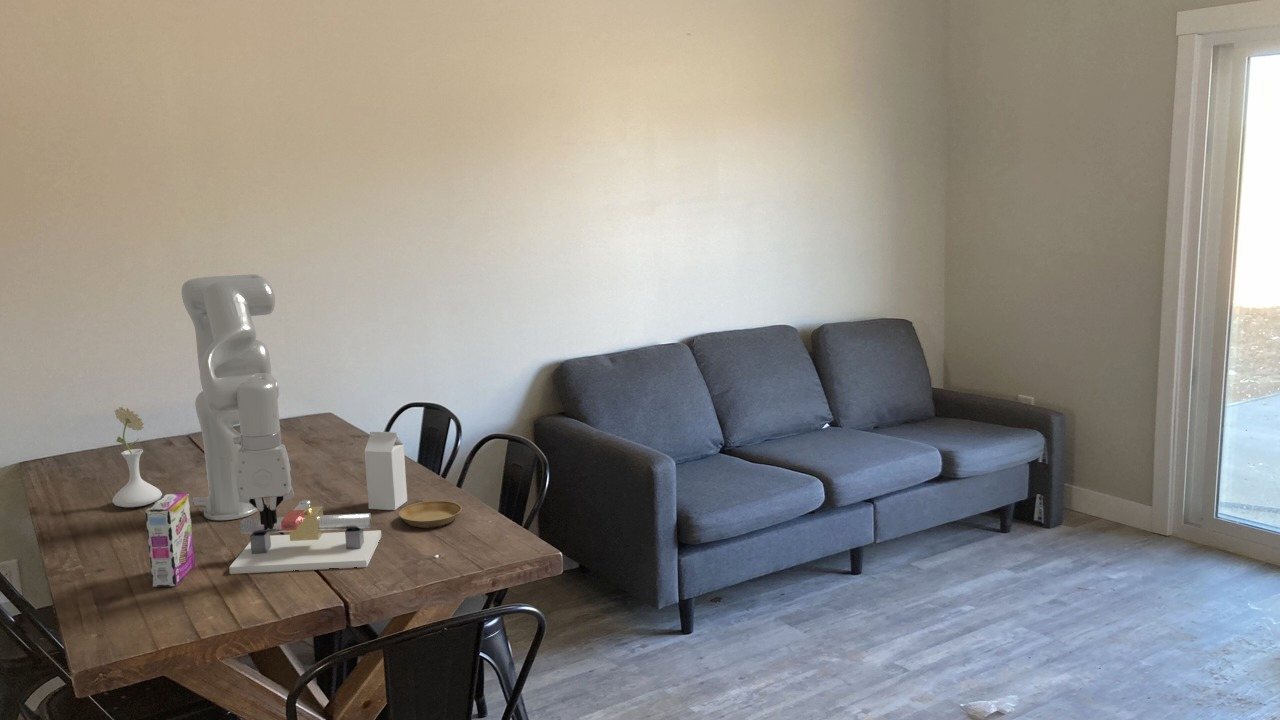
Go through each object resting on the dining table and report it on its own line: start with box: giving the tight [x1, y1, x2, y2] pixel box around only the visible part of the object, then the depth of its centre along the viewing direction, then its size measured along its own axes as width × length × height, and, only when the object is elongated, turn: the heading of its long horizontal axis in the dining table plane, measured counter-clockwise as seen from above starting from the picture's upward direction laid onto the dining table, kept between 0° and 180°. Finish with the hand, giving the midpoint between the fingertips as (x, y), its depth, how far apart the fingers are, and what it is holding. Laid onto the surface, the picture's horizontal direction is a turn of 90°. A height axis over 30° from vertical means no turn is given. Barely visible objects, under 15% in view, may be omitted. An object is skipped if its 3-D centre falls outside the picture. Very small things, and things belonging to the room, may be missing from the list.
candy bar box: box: [144, 493, 196, 588], centre depth 204 cm, size 11×5×16 cm, turn 5°
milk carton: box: [364, 430, 408, 511], centre depth 246 cm, size 7×7×19 cm
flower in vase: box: [112, 406, 163, 508], centre depth 251 cm, size 13×11×25 cm
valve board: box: [228, 529, 382, 575], centre depth 216 cm, size 28×18×2 cm, turn 95°
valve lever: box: [281, 499, 312, 530], centre depth 208 cm, size 3×15×2 cm, turn 5°
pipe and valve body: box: [239, 505, 372, 554], centre depth 215 cm, size 27×6×9 cm, turn 95°
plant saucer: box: [398, 500, 463, 529], centre depth 236 cm, size 15×15×3 cm
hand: (269, 527), depth 204 cm, fingers closed
